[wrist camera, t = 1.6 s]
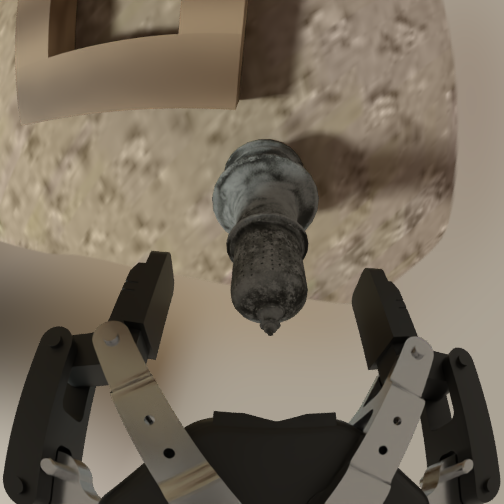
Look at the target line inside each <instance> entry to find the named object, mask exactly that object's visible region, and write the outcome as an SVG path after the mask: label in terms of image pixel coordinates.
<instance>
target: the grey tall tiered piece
mask: <svg viewBox="0 0 504 504" xmlns="http://www.w3.org/2000/svg"><path fill="white" fill-rule="evenodd" d="M318 200H319V198H318V192H317V187H316V185H315V183H314V181H313V179H312V177H311V175H310V174H309V173H308V172H307V171H306V170H305V169H304V168H303V164H302V162H301V160H300V158H299V157H298V155H297V154H296V153H295V152H294V151H293V150H292V149H291V148H290V147H288V146H286V145H285V144H283V143H281V142H277V141H274V140H255V141H251V142H248V143H246V144H244V145H242V146H241V147H239V148H238V149H237V150H236V151H235V152H234V153H233V154H232V155H231V156H230V158H229V160H228V161H227V163H226V167H225V171H224V172H223V173H222V174H221V176H220V177H219V179H218V181H217V183H216V185H215V188H214V192H213V197H212V201H213V211H214V213H215V215H216V218H217V220H218V222H219V223H220V225H221V226H222V227H223V228H224V230H225V231H226V232H228V233H229V235H228V239H227V243H226V245H227V253H228V255H229V257H230V260H231V261H232V262H233V271H232V281H231V298H232V303H233V305H234V307H235V309H236V310H237V311H238V312H239V313H240V314H241V315H243V317H245V318H247V319H248V320H250V321H253V322H256V323H261V324H260V327H261V329H263V330H264V332H265V333H267V334H268V335H269V336H272V335H273V333H275V332H276V331H277V329H279V327H280V322H283V321H286V320H288V319H290V318H292V317H294V316H295V315H296V314H297V313H298V312H299V311H300V310H301V309H302V307H303V306H304V304H305V302H306V298H307V291H308V289H307V283H306V277H305V271H304V265H303V259H304V258H305V256H306V253H307V251H308V239H307V234H306V232H305V230H306V229H307V228H308V226H309V225H310V224H311V223H312V221H313V219H314V217H315V215H316V212H317V209H318Z"/></svg>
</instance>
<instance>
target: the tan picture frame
mask: <svg viewBox="0 0 504 504" xmlns="http://www.w3.org/2000/svg"><path fill="white" fill-rule="evenodd" d="M247 7H248V0H181V8H180V20H179V34H170V35H158V36H149V37H140V38H133V39H126V40H120V41H114V42H109V43H103V44H99V45H94V46H89V47H85V48H81V49H77V50H75V29H76V12H77V0H18V6H17V17H16V33H15V70H16V88H17V99H18V108H19V116H20V124H21V126H24V125H28V124H33V123H38V122H42V121H48V120H53V119H59V118H65V117H71V116H78V115H85V114H93V113H102V112H112V111H124V110H139V109H163V108H205V109H230V110H236V107H237V104H238V102H239V95H240V82H241V71H242V59H243V48H244V38H245V27H246V17H247Z"/></svg>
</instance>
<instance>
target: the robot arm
mask: <svg viewBox="0 0 504 504" xmlns="http://www.w3.org/2000/svg"><path fill="white" fill-rule="evenodd" d="M173 277H174V276H173V269H172V260H171V254H170V253H169V252H159V251H151V253H150V255H149V257H148V259H147V262H146V263H138V264H137V265H136V266H134V267H133V268H132V269H131V270H130V272H129V274H128V276H127V279H126V282H125V283H124V285H123V288H122V290H121V292H120V295H119V297H118V299H117V302H116V304H115V306H114V309H113V311H112V314H111V316H110V318H109V320H108V322H105V323H103V324H101V325H100V326H99V327H97V329H96V330H95V332H93V333H88V334H79V335H71V333H70V331H69V330H68V329H66V328H64V327H53V328H51V329H49V330H48V331H47V332H46V333H45V334H44V335H43V337H42V338H41V341H40V343H39V346H38V348H37V351H36V353H35V356H34V359H33V361H32V364H31V367H30V370H29V373H28V375H27V378H26V381H25V384H24V387H23V391H22V394H21V397H20V401H19V404H18V407H17V411H16V415H15V419H14V423H13V427H12V431H11V435H10V440H9V445H8V450H7V455H6V461H5V467H4V474H3V483H4V488H5V490H6V492H7V494H8V496H9V497H10V498H11V499H12V500H13V501H14V502H15V503H16V504H483V503H486V502H489V501H491V500H492V499H493V498H494V497H495V496H496V494H497V493H498V490H499V487H500V472H499V465H498V458H497V452H496V446H495V440H494V435H493V430H492V426H491V421H490V417H489V413H488V409H487V405H486V401H485V398H484V394H483V391H482V387H481V384H480V381H479V378H478V374H477V372H476V368H475V365H474V362H473V360H472V358H471V356H470V354H469V353H468V352H467V351H465V350H464V349H462V348H454V349H453V350H452V351H451V352H450V353H449V354H443V353H439V352H435V351H433V350H432V347H431V346H430V344H429V343H428V342H427V341H426V340H424V339H423V338H420V337H418V336H417V333H416V330H415V328H414V325H413V323H412V320H411V318H410V315H409V313H408V310H407V309H406V305H405V303H404V302H403V298H402V296H401V294H400V291H399V290H398V288H397V287H396V286H395V285H394V284H393V283H392V282H391V281H388V280H387V278H386V275H385V273H384V271H383V270H382V269H374V268H365V269H364V270H363V272H362V274H361V277H360V279H359V281H358V284H357V286H356V288H355V290H354V293H353V296H352V307H353V311H354V314H355V318H356V322H357V325H358V329H359V333H360V337H361V341H362V345H363V349H364V354H365V358H366V361H367V366H368V370H374V369H378V372H379V375H378V376H377V377H376V379H375V381H374V383H373V384H372V386H371V388H370V390H369V392H368V394H367V396H366V398H365V400H364V402H363V403H362V405H361V407H360V408H359V410H358V412H357V413H356V414H355V415H354V417H353V418H352V419H351V421H350V422H349V423H346V422H344V421H341V420H336V413H335V412H334V413H317V414H305V415H301V416H298V417H294V418H290V419H286V420H282V421H272V420H268V419H263V418H260V417H256V416H252V415H249V414H245V413H231V412H218V411H214V414H213V418H207V419H203V420H200V421H197V422H194V423H192V424H190V425H188V426H186V427H185V428H184V427H183V426H182V424H181V422H180V421H179V419H178V418H177V416H176V415H175V413H174V411H173V410H172V408H171V406H170V405H169V403H168V401H167V400H166V398H165V396H164V395H163V393H162V391H161V389H160V388H159V386H158V384H157V382H156V381H155V379H154V377H153V375H152V374H151V373H150V371H149V370H148V367H147V366H146V363H147V359H154V360H156V357H157V353H158V349H159V344H160V341H161V337H162V333H163V329H164V325H165V321H166V318H167V314H168V310H169V306H170V303H171V299H172V296H173V290H174V278H173ZM104 385H109V387H110V389H111V392H110V395H111V398H112V400H113V402H114V405H115V407H116V409H117V411H118V413H119V415H120V417H121V420H122V422H123V424H124V426H125V428H126V430H127V432H128V434H129V436H130V437H131V439H132V441H133V443H134V445H135V447H136V449H137V451H138V452H139V454H140V456H141V457H142V459H143V461H144V463H143V464H142V465H141V466H140V467H139V468H137V469H136V470H135V471H134V472H133V473H132V474H130V475H129V476H128V477H127V478H125V479H124V480H123V481H122V482H120V483H119V484H118V485H117V486H116V487H114V488H113V489H112V490H110V491H109V492H108V493H107V494H105V495H104V496H103V497H102V498H100V497H99V496H98V494H97V493H96V491H95V490H94V487H93V483H92V474H91V472H90V470H89V468H88V467H87V466H86V465H85V464H84V463H83V462H82V455H83V449H84V443H85V437H86V431H87V426H88V421H89V415H90V411H91V406H92V402H93V397H94V393H95V388H96V386H104ZM449 392H450V396H451V400H452V405H453V409H454V416H453V418H451V413H450V409H449V405H448V400H447V396H446V395H447V394H448V393H449ZM419 419H421V424H422V430H423V437H424V444H425V451H426V459H427V470H426V471H425V473H424V476H423V477H422V478H421V480H420V487H421V489H420V488H419V487H418V486H417V485H416V484H415V483H414V482H413V481H411V479H409V478H408V477H407V476H406V475H405V474H404V473H403V472H402V471H401V470H400V469H399V468H398V466H399V464H400V462H401V460H402V458H403V456H404V454H405V452H406V450H407V448H408V445H409V443H410V441H411V439H412V436H413V434H414V431H415V429H416V427H417V424H418V421H419Z"/></svg>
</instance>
